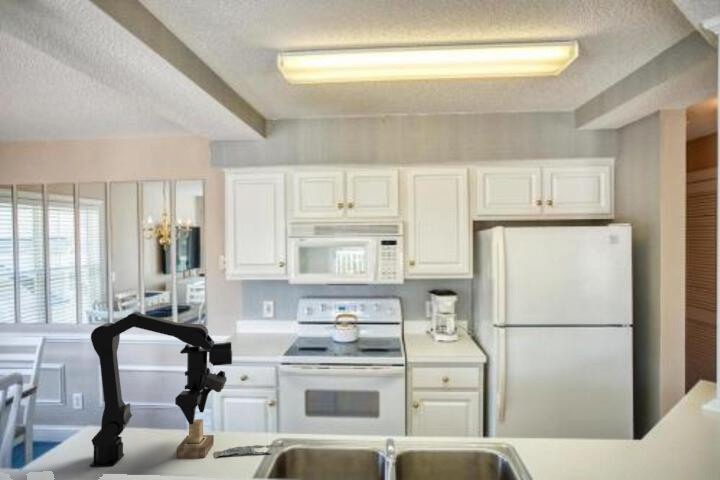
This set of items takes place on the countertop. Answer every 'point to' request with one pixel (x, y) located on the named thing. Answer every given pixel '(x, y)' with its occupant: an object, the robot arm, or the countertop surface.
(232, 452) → the driftwood
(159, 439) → the countertop surface
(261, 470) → the countertop surface
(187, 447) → the board
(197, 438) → the peg
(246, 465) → the countertop surface
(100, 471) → the countertop surface
